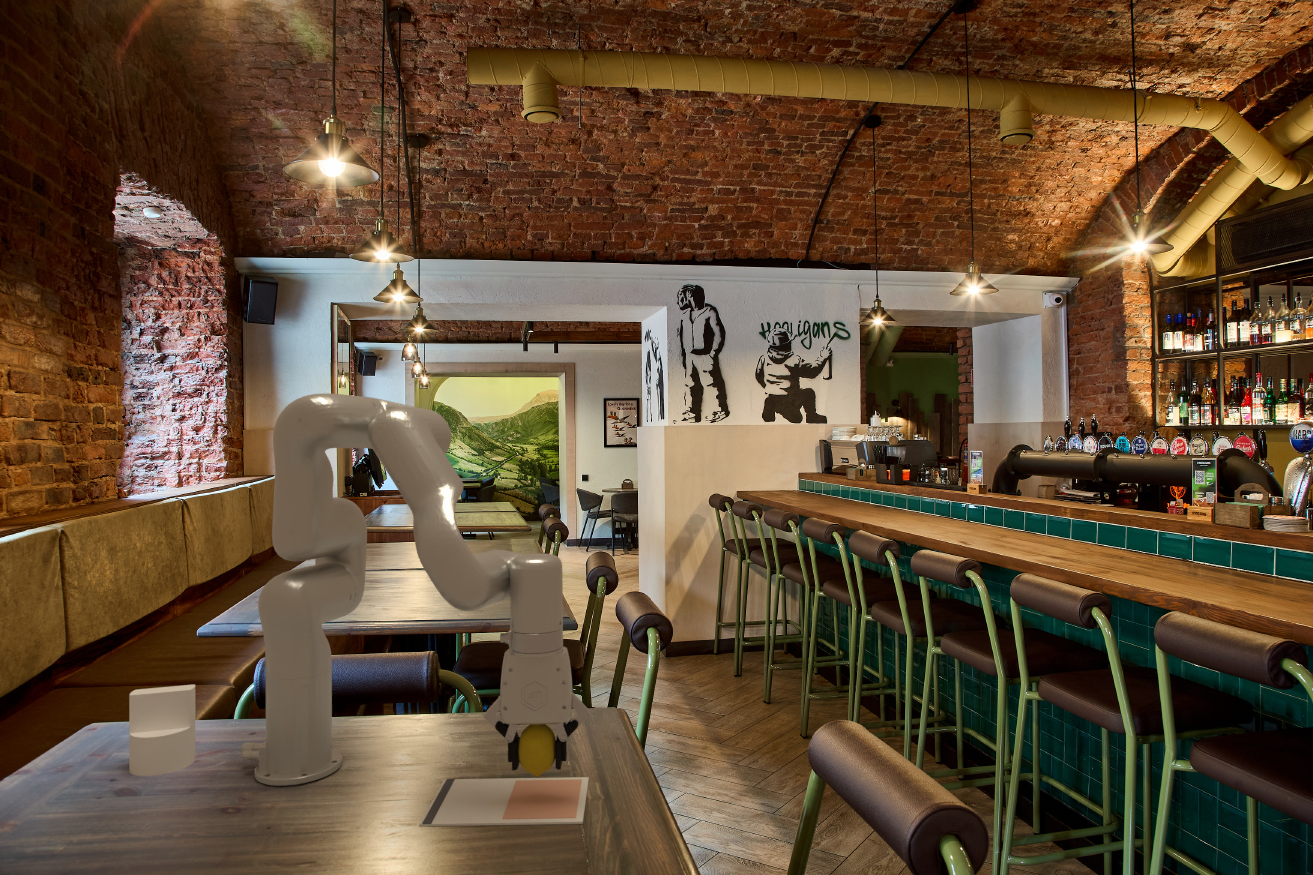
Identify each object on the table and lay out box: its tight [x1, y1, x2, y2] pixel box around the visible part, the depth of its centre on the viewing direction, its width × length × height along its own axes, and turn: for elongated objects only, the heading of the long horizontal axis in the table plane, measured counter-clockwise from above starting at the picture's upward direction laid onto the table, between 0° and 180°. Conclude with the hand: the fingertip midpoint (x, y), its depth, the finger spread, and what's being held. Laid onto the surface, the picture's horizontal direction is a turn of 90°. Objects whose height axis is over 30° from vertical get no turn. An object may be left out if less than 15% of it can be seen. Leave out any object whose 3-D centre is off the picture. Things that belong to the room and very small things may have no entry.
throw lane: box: [418, 776, 590, 827], centre depth 113 cm, size 22×14×1 cm, turn 92°
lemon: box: [518, 724, 557, 778], centre depth 113 cm, size 6×6×8 cm
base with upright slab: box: [128, 684, 196, 777], centre depth 126 cm, size 9×9×12 cm
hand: (537, 764), depth 113 cm, fingers closed on lemon, 5 cm apart
